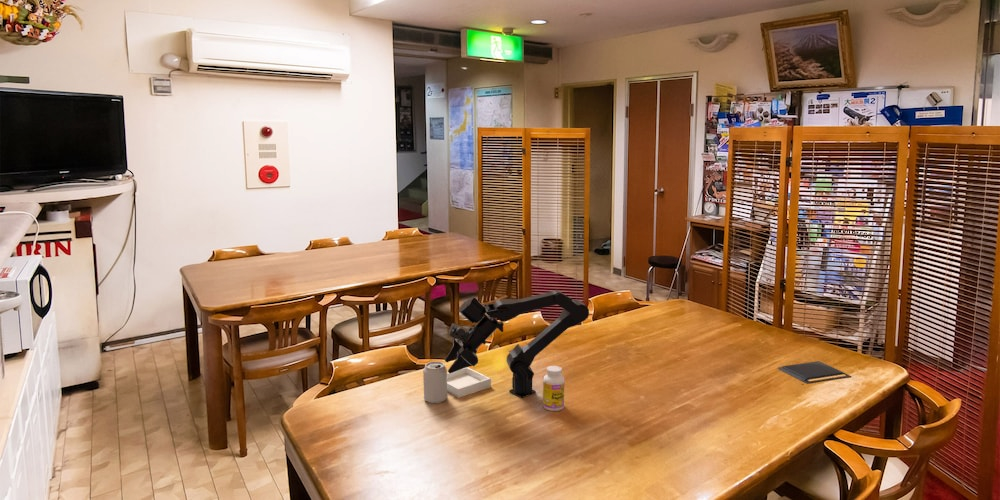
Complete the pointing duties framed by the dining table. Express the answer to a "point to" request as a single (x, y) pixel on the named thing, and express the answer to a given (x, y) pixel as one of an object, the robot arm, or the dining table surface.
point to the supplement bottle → (553, 389)
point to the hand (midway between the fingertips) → (447, 366)
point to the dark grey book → (813, 372)
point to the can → (435, 382)
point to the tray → (466, 382)
